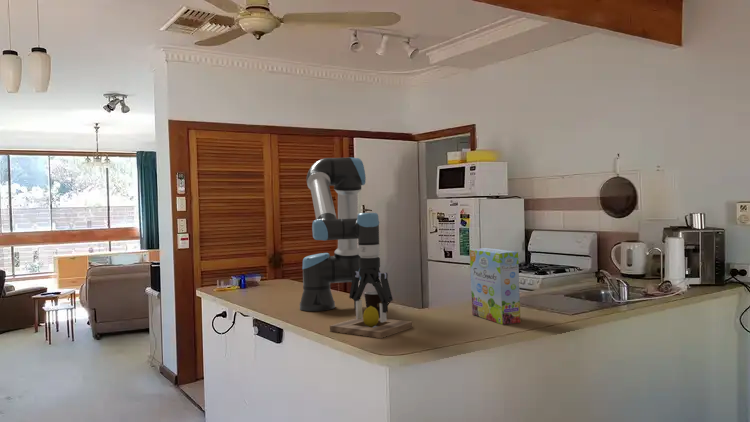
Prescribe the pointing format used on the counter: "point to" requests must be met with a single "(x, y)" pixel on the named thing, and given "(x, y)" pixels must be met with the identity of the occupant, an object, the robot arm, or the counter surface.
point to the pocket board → (376, 331)
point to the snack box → (495, 285)
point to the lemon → (370, 316)
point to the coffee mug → (373, 300)
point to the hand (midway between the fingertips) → (371, 320)
